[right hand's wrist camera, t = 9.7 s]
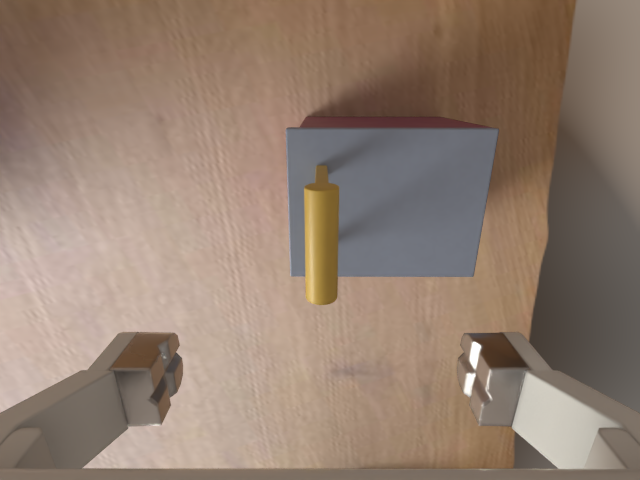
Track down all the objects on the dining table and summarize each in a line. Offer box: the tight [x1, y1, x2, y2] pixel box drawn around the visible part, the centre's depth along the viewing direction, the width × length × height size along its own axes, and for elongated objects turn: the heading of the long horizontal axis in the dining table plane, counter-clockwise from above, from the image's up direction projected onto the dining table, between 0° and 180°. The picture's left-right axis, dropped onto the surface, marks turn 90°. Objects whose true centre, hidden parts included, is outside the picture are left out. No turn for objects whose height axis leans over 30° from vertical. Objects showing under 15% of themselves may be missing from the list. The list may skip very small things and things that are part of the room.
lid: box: [286, 127, 499, 305], centre depth 21 cm, size 13×10×8 cm
